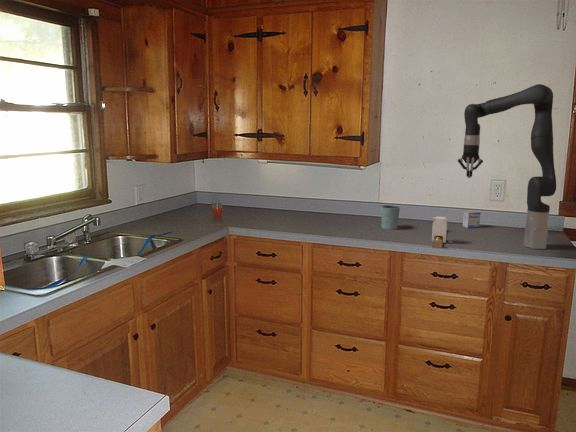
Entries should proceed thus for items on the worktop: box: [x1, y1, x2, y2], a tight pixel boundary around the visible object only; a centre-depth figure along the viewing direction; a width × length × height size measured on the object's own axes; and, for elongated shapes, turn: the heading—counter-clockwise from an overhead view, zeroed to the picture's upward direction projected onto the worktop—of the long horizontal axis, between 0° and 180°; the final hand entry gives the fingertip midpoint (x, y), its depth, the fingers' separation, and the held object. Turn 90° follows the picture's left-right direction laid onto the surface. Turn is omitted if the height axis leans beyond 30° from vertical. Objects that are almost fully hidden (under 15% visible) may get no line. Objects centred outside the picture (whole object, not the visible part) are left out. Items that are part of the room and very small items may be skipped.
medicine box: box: [462, 210, 482, 229], centre depth 278 cm, size 8×4×9 cm, turn 105°
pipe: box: [431, 235, 454, 249], centre depth 251 cm, size 38×9×3 cm, turn 160°
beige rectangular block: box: [431, 216, 448, 244], centre depth 245 cm, size 5×6×12 cm
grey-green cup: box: [380, 204, 401, 231], centre depth 274 cm, size 10×10×12 cm
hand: (469, 177), depth 261 cm, fingers closed
